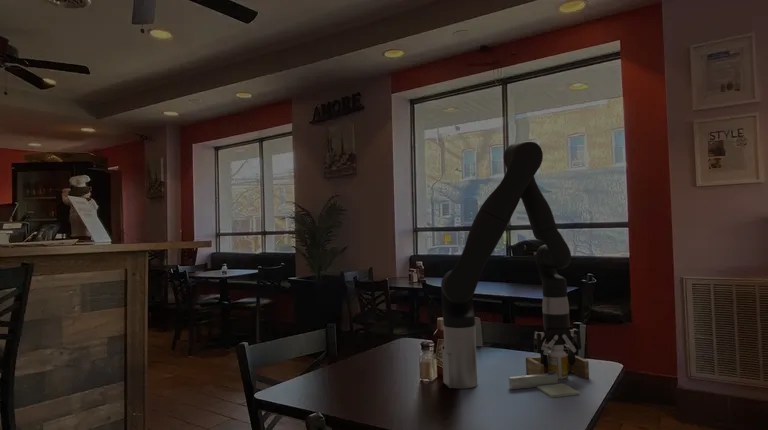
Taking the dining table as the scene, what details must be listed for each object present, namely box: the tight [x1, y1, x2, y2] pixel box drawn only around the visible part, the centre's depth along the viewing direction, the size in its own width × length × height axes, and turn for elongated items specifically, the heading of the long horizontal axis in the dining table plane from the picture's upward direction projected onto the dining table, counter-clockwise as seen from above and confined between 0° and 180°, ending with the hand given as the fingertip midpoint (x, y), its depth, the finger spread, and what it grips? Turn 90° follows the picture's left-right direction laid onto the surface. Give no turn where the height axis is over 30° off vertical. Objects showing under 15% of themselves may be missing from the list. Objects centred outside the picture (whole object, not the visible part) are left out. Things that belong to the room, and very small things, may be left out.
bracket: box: [525, 353, 590, 379], centre depth 155 cm, size 15×9×5 cm, turn 100°
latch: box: [508, 370, 559, 390], centre depth 146 cm, size 14×2×4 cm, turn 100°
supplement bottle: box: [547, 345, 568, 380], centre depth 155 cm, size 5×5×10 cm
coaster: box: [536, 383, 580, 398], centre depth 141 cm, size 8×8×1 cm
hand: (558, 365), depth 155 cm, fingers open, 8 cm apart
